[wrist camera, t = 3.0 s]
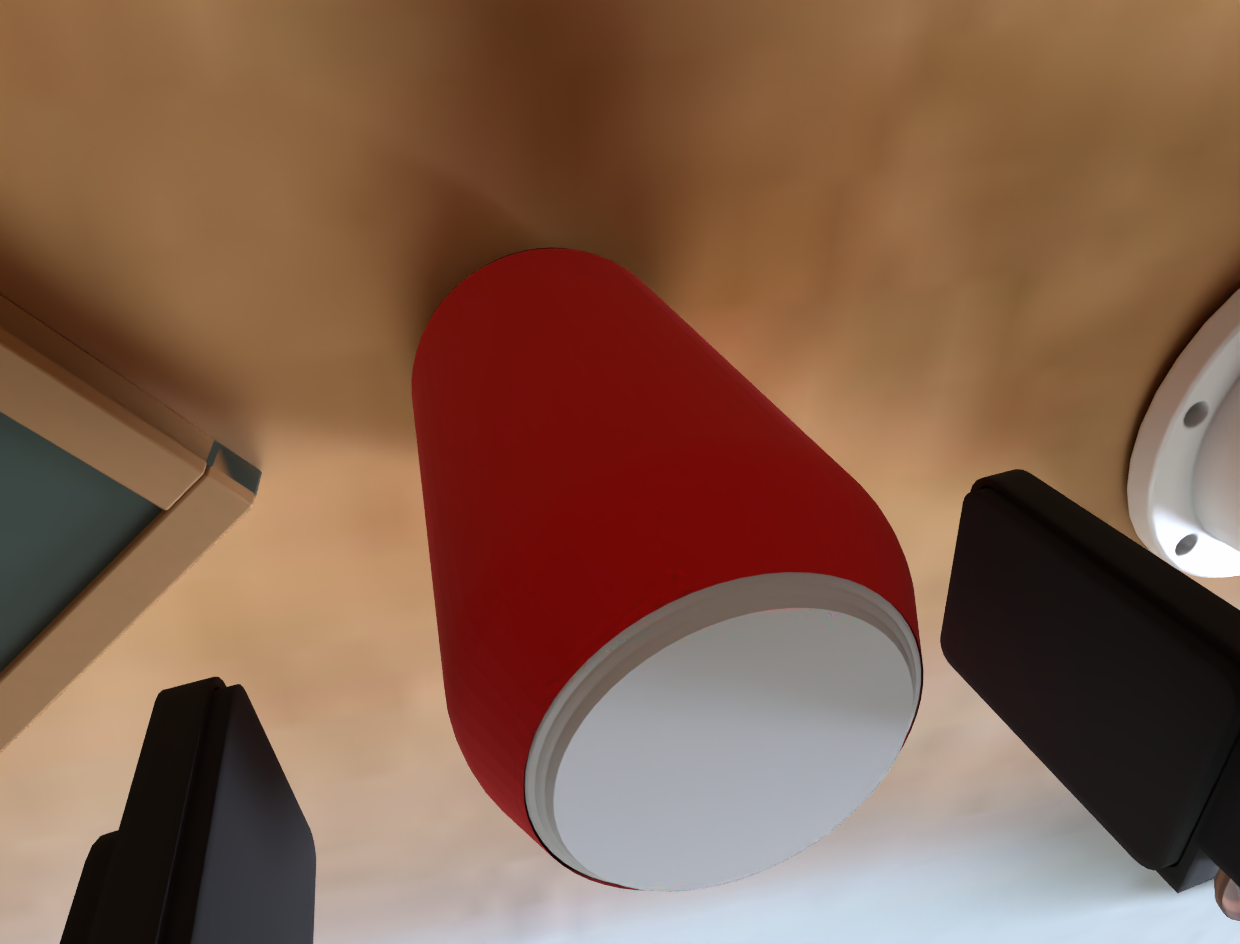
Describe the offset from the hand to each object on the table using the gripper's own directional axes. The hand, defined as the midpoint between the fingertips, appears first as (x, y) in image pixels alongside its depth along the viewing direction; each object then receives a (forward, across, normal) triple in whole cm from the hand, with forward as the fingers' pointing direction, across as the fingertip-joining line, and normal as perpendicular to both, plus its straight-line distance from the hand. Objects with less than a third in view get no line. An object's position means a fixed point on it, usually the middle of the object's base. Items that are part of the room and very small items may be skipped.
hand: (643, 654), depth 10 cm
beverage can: (+10, -1, 0) cm, 10 cm away
